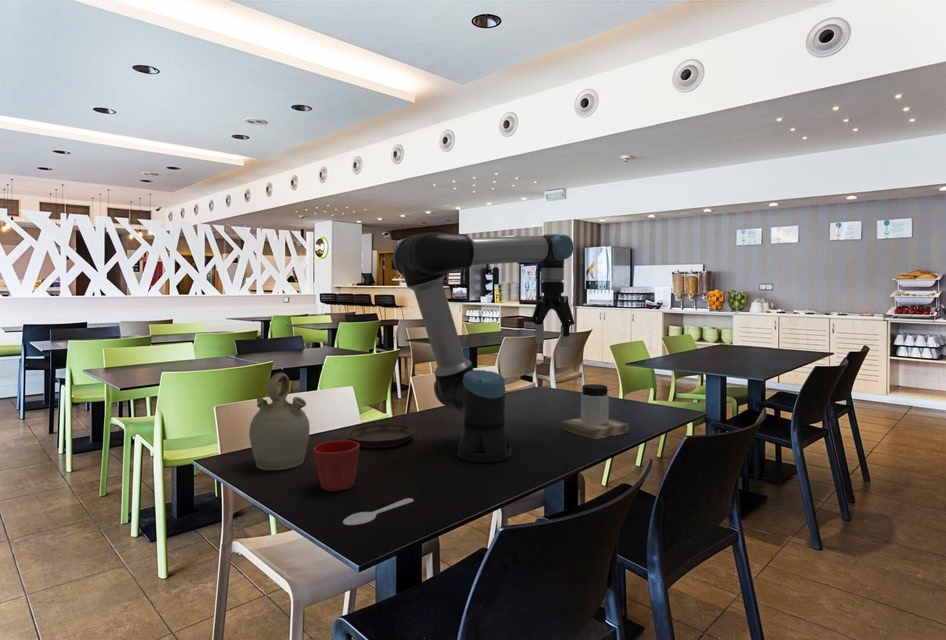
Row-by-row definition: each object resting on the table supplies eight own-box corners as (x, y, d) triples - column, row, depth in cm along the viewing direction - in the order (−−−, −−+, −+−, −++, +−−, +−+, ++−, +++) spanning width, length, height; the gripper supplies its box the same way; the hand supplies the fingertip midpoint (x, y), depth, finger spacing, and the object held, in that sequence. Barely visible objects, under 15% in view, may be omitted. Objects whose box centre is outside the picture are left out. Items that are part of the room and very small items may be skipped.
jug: (322, 460, 154) (320, 370, 152) (276, 476, 140) (274, 378, 139) (284, 452, 161) (282, 367, 160) (237, 467, 148) (235, 374, 147)
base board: (594, 439, 173) (594, 430, 172) (562, 429, 185) (562, 420, 185) (628, 433, 180) (628, 424, 180) (596, 423, 193) (596, 415, 193)
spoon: (420, 503, 123) (420, 501, 123) (352, 529, 110) (352, 527, 109) (404, 497, 126) (404, 495, 126) (336, 522, 113) (336, 519, 113)
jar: (596, 426, 177) (596, 389, 176) (576, 422, 183) (576, 386, 182) (613, 422, 183) (613, 386, 182) (593, 418, 189) (593, 383, 188)
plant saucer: (335, 448, 167) (334, 437, 166) (368, 431, 186) (368, 421, 186) (397, 453, 160) (397, 442, 160) (425, 435, 180) (425, 425, 180)
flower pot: (305, 486, 133) (304, 446, 133) (345, 475, 141) (344, 437, 141) (328, 497, 126) (327, 455, 125) (369, 485, 134) (368, 445, 133)
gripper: (586, 280, 175) (585, 347, 176) (539, 282, 197) (539, 341, 198) (567, 280, 172) (566, 348, 173) (522, 281, 194) (521, 342, 195)
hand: (551, 345), depth 185 cm, fingers open, 13 cm apart
